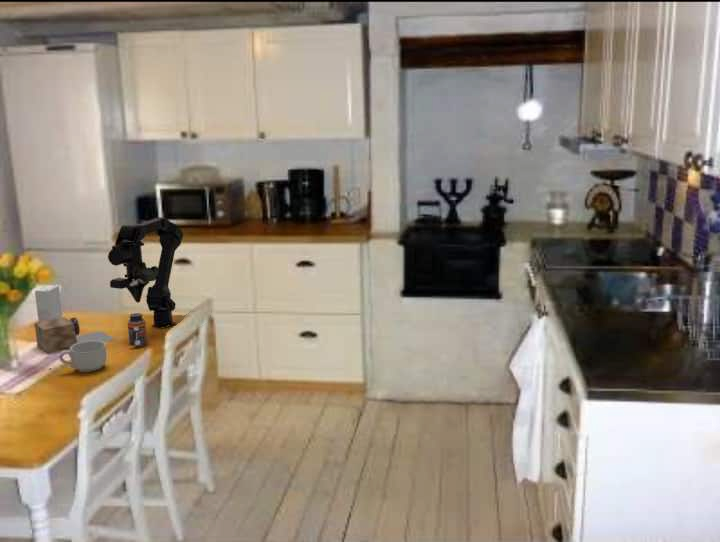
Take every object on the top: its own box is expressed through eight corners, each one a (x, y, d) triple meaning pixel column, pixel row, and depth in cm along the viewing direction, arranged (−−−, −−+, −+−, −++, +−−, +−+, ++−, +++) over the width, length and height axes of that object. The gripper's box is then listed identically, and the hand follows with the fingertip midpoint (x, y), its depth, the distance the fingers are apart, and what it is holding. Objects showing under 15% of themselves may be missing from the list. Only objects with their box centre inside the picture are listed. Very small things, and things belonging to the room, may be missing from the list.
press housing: (67, 339, 244) (64, 317, 242) (77, 346, 236) (74, 323, 234) (37, 346, 238) (34, 323, 236) (47, 353, 230) (43, 329, 228)
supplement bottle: (142, 348, 235) (138, 317, 233) (126, 348, 236) (123, 316, 234) (150, 343, 241) (147, 312, 238) (135, 342, 242) (132, 312, 240)
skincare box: (49, 320, 273) (45, 285, 270) (64, 320, 273) (59, 284, 270) (38, 327, 265) (33, 290, 262) (53, 327, 265) (48, 290, 261)
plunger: (74, 333, 243) (72, 315, 242) (80, 336, 239) (78, 319, 237) (43, 339, 237) (40, 322, 235) (48, 343, 232) (46, 325, 230)
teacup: (108, 361, 223) (105, 338, 222) (108, 372, 213) (105, 347, 212) (62, 367, 218) (59, 344, 217) (60, 379, 209) (57, 354, 207)
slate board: (101, 333, 254) (100, 330, 254) (116, 342, 243) (116, 339, 243) (36, 347, 240) (35, 345, 239) (49, 357, 228) (48, 355, 228)
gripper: (129, 266, 231) (133, 311, 234) (169, 257, 247) (173, 298, 250) (106, 264, 236) (111, 307, 240) (147, 254, 252) (151, 295, 255)
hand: (138, 302), depth 246 cm, fingers closed
